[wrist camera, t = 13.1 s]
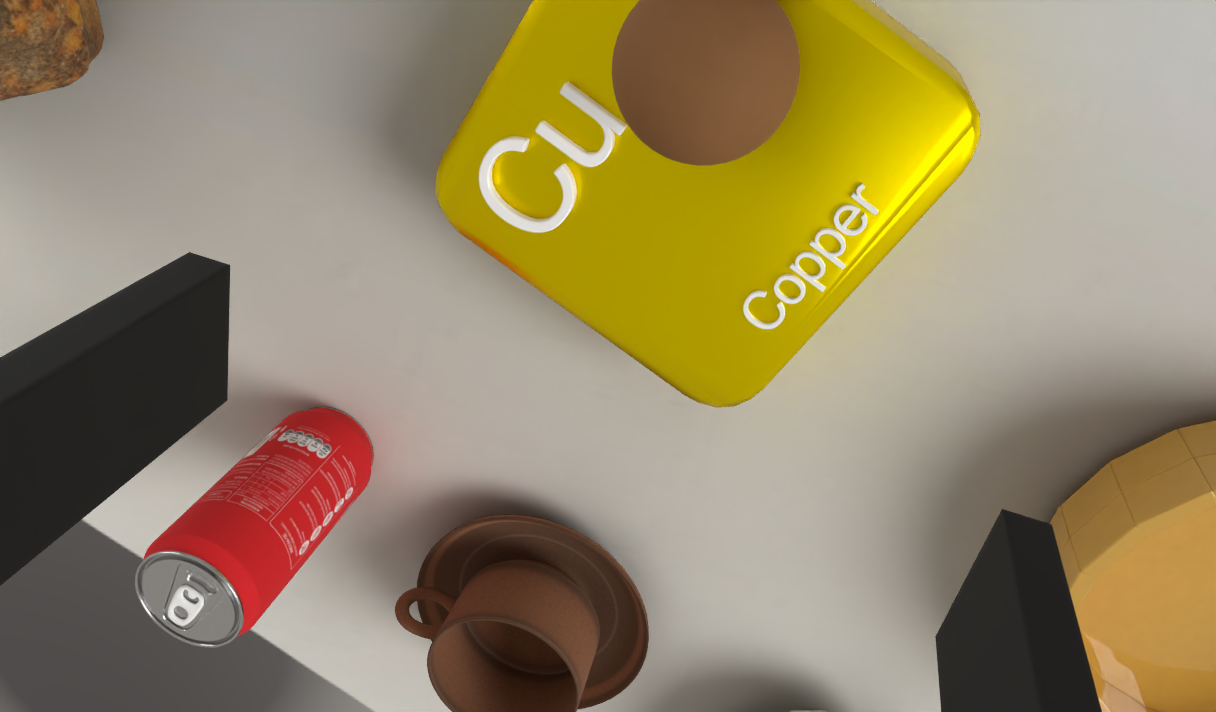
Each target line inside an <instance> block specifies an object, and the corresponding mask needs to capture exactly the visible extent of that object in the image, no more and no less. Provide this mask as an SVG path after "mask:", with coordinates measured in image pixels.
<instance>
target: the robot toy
mask: <svg viewBox="0 0 1216 712" xmlns="http://www.w3.org/2000/svg"><path fill="white" fill-rule="evenodd" d="M790 712H827V711H826V710H793V711H790Z"/></svg>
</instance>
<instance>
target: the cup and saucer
mask: <svg viewBox="0 0 1216 712" xmlns="http://www.w3.org/2000/svg"><path fill="white" fill-rule="evenodd" d="M415 601H417V603H418V609H419V613H420V617H421V619H422V622H423V623H421V622H419V621H417V620H415V619H414V618H413V617H412V616H411V615H410V613H409V607H410V605H411V604H412V603H413V602H415ZM395 614H396V617H397V620H398V621H399V623H400V624H401V625H402V626H403V627H404V628H405V629H406V630H408V631H409V632H411V633H413V634H415V635H418V636H420V637H424V638H428V639H431V640H432V644H431V646H430V649H429V652H428V658H427V667H428V673H429V677H430V680H431V683H432V685H433V687H434V689H435V691H436V693H437V694H438V696H439V697H440V699H441V700H442V701H443V703H444V704H445V705H446V706H447V707H448V708H449V709H450V710H451V711H452V712H576V711H577V709H582V708H587V707H591V706H595V705H597V704H600V703H603V702H605V701H607V700H609V699H611V698H613V697H614V696H616V695H618V694H619V693H620V692H622V691H623V690H624V689H625V688H627V687H628V686H629V684H630V683H631V682H632V681H633V680H634V679H635V677H636V676H637V675H638V673H639V671H640V669H641V668H642V665H643V663H644V660H645V657H646V653H647V649H648V640H649V634H648V620H647V614H646V610H645V606H644V604H643V601H642V598H641V596H640V594H639V592H638V590H637V588H636V586H635V584H634V583H633V581H632V579H631V578H630V576H629V575H628V574H627V573H626V571H625V570H624V569H623V567H622V566H621V565H620V564H619V563H618V562H617V561H616V560H615V559H614V558H613V557H612V556H611V555H610V554H609V553H608V552H607V551H605V550H604V549H603V548H601V547H600V546H599V545H598V544H596V543H595V542H593V541H592V540H590V539H589V538H587V537H585V536H584V535H582V534H580V533H578V532H576V531H574V530H572V529H570V528H568V527H565V526H563V525H560V524H557V523H555V522H551V521H548V520H544V519H540V518H535V517H530V516H522V515H496V516H490V517H484V518H480V519H476V520H473V521H471V522H468V523H465V524H463V525H461V526H459V527H457V528H456V529H454V530H453V531H451V532H450V533H448V534H447V535H446V536H445V537H443V538H442V539H441V540H440V541H439V542H438V543H437V544H436V545H435V546H434V547H433V548H432V549H431V551H430V552H429V554H428V555H427V556H426V558H425V560H424V562H423V564H422V567H421V569H420V572H419V576H418V581H417V588H414V589H411V590H409V591H407V592H405V593H404V594H403V595H402V596H401V597H400V598H399V599H398V601H397V603H396V607H395Z"/></svg>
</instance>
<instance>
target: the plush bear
mask: <svg viewBox="0 0 1216 712" xmlns="http://www.w3.org/2000/svg"><path fill="white" fill-rule="evenodd" d="M799 75H800V54H799V47H798V42H797V39H796V35H795V32H794V29H793V27H792V25H791V22H790V20H789V18H788V17H787V15H786V13H785V12H784V10H783V9H782V7H781V6H780V5H779V4H778V2H777V1H776V0H639V1H638V2H637V4H636V5H635V6H634V8H633V9H632V10H631V11H630V13H629V14H628V16H627V18H626V19H625V21H624V23H623V25H622V27H621V29H620V31H619V34H618V36H617V40H616V43H615V47H614V51H613V58H612V82H613V89H614V94H615V98H616V101H617V104H618V107H619V109H620V112H621V114H622V116H623V118H624V119H625V121H626V123H627V124H628V126H629V127H630V128H631V130H632V131H633V133H634V134H635V135H636V136H637V137H638V138H639V139H640V140H641V141H642V142H643V143H644V144H645V145H647V146H648V147H649V148H650V149H652V150H653V151H655V152H657V153H658V154H660V155H662V156H664V157H666V158H668V159H671V160H673V161H677V162H680V163H684V164H689V165H697V166H704V165H717V164H723V163H727V162H730V161H733V160H736V159H739V158H741V157H743V156H745V155H747V154H749V153H751V152H752V151H754V150H755V149H757V148H758V147H760V146H761V145H762V144H763V143H765V142H766V141H767V140H768V139H769V138H770V137H771V136H772V135H773V134H774V133H775V131H776V130H777V129H778V128H779V126H780V125H781V124H782V122H783V121H784V119H785V118H786V116H787V114H788V112H789V110H790V108H791V106H792V103H793V101H794V98H795V95H796V92H797V87H798V83H799Z"/></svg>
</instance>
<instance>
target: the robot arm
mask: <svg viewBox="0 0 1216 712" xmlns="http://www.w3.org/2000/svg"><path fill="white" fill-rule="evenodd" d="M229 293H230V265H228V264H225V263H222V262H219V261H215V260H212V259H209V258H206V257H203V256H200V255H196V254H193V253H190V252H189V253H187V254H185V255H184V256H182V257H180V258H178V259H176V260H175V261H173V262H171V263H169V264H167V265H166V266H164V267H162V268H160V269H158V270H157V271H155V272H153V273H151V274H149V275H148V276H146V277H144V278H142V279H140V280H139V281H137V282H135V283H133V284H131V285H130V286H128V287H126V288H124V289H123V290H121V291H119V292H117V293H115V294H114V295H112V296H110V297H108V298H106V299H105V300H103V301H101V302H99V303H97V304H96V305H94V306H92V307H90V308H88V309H87V310H85V311H83V312H81V313H79V314H78V315H76V316H74V317H72V318H70V319H69V320H67V321H65V322H63V323H61V324H60V325H58V326H56V327H54V328H52V329H51V330H49V331H47V332H45V333H43V334H42V335H40V336H38V337H36V338H34V339H33V340H31V341H29V342H27V343H25V344H24V345H22V346H20V347H18V348H17V349H15V350H13V351H11V352H9V353H8V354H6V355H4V356H2V357H0V585H1V584H3V583H4V582H5V581H6V580H8V579H9V578H10V577H11V576H12V575H14V574H15V573H16V572H17V571H19V570H20V569H21V568H22V567H24V566H25V565H26V564H27V563H28V562H30V561H31V560H32V559H33V558H35V557H36V556H37V555H38V554H39V553H41V552H42V551H43V550H44V549H46V548H47V547H48V546H49V545H51V544H52V543H53V542H54V541H55V540H57V539H58V538H59V537H60V536H62V535H63V534H64V533H65V532H66V531H68V530H69V529H70V528H71V527H73V526H74V525H75V524H76V523H77V522H79V521H80V520H81V519H82V518H84V517H85V516H86V515H87V514H89V513H90V512H91V511H92V510H93V509H95V508H96V507H97V506H98V505H100V504H101V503H102V502H103V501H104V500H106V499H107V498H108V497H109V496H111V495H112V494H113V493H114V492H115V491H117V490H118V489H119V488H120V487H122V486H123V485H124V484H125V483H126V482H128V481H129V480H130V479H131V478H133V477H134V476H135V475H136V474H137V473H139V472H140V471H141V470H142V469H144V468H145V467H146V466H147V465H149V464H150V463H151V462H152V461H153V460H155V459H156V458H157V457H158V456H160V455H161V454H162V453H163V452H164V451H166V450H167V449H168V448H169V447H171V446H172V445H173V444H174V443H175V442H177V441H178V440H179V439H180V438H182V437H183V436H184V435H185V434H186V433H188V432H189V431H190V430H191V429H193V428H194V427H195V426H196V425H197V424H199V423H200V422H201V421H202V420H204V419H205V418H206V417H207V416H208V415H210V414H211V413H212V412H213V411H215V410H216V409H217V408H218V407H220V406H221V405H222V404H223V403H224V402H226V401H227V388H228V341H229ZM936 648H937V661H938V674H939V687H940V700H941V712H1102V710H1101V706H1100V702H1099V699H1098V695H1097V691H1096V687H1095V684H1094V680H1093V676H1092V672H1091V669H1090V665H1089V661H1088V657H1087V654H1086V650H1085V646H1084V643H1083V639H1082V635H1081V631H1080V628H1079V624H1078V620H1077V616H1076V613H1075V609H1074V605H1073V601H1072V598H1071V594H1070V590H1069V586H1068V583H1067V579H1066V575H1065V571H1064V568H1063V564H1062V560H1061V556H1060V553H1059V549H1058V545H1057V541H1056V538H1055V534H1054V530H1053V527H1052V525H1051V524H1048V523H1045V522H1041V521H1038V520H1035V519H1032V518H1029V517H1026V516H1022V515H1019V514H1016V513H1013V512H1010V511H1007V510H1003V509H1002V510H1001V512H1000V514H999V516H998V518H997V520H996V522H995V524H994V526H993V528H992V530H991V531H990V533H989V535H988V537H987V539H986V541H985V543H984V545H983V547H982V549H981V551H980V553H979V554H978V556H977V558H976V560H975V562H974V564H973V566H972V568H971V570H970V572H969V574H968V576H967V577H966V579H965V581H964V583H963V585H962V587H961V589H960V591H959V593H958V595H957V597H956V599H955V600H954V602H953V604H952V606H951V608H950V610H949V612H948V614H947V616H946V618H945V620H944V622H943V623H942V625H941V627H940V629H939V631H938V633H937V635H936Z"/></svg>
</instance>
